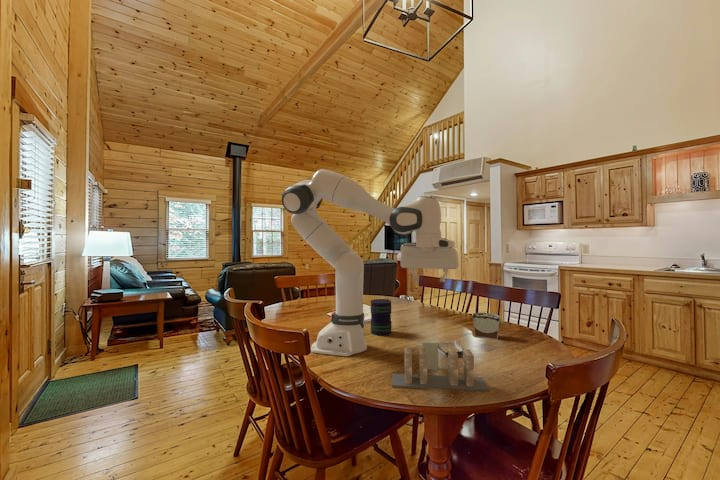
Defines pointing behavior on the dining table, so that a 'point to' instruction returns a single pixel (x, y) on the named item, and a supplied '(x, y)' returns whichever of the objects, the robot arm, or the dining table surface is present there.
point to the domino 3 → (453, 366)
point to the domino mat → (438, 383)
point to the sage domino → (431, 354)
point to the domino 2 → (423, 366)
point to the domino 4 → (468, 367)
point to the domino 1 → (408, 365)
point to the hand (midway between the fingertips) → (429, 281)
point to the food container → (486, 325)
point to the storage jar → (381, 317)
